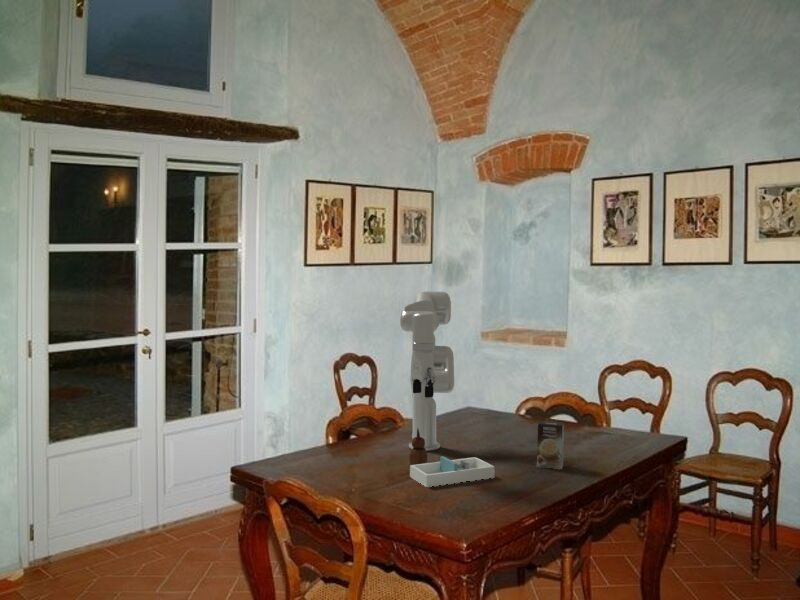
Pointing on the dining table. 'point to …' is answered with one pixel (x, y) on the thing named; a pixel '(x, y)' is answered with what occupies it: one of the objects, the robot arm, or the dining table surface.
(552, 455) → the coffee box
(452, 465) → the pusher paddle
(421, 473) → the lane
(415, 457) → the wooden figurine
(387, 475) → the dining table surface
